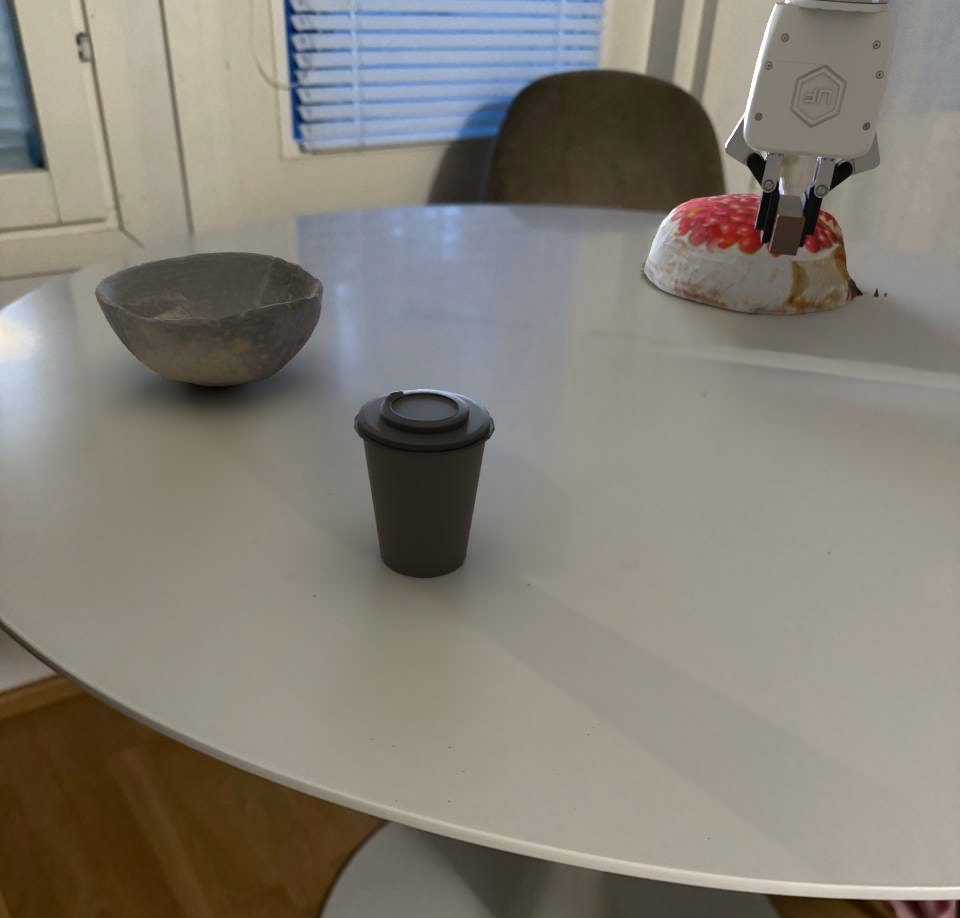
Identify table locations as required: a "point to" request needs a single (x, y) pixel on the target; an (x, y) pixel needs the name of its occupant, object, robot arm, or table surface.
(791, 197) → the knife
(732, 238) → the cake
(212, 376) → the bowl
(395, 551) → the coffee cup
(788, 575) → the table surface
